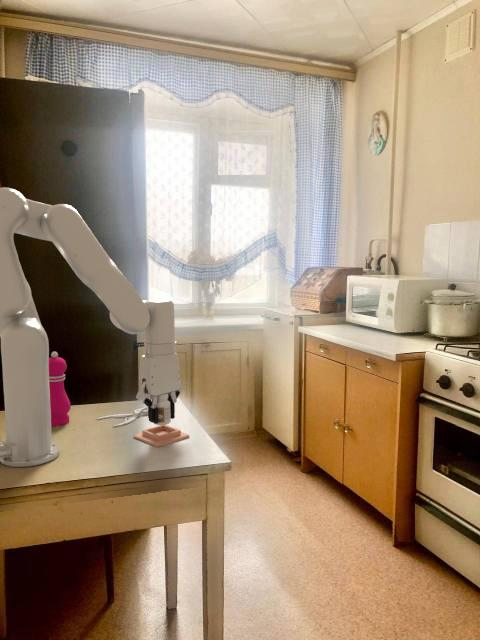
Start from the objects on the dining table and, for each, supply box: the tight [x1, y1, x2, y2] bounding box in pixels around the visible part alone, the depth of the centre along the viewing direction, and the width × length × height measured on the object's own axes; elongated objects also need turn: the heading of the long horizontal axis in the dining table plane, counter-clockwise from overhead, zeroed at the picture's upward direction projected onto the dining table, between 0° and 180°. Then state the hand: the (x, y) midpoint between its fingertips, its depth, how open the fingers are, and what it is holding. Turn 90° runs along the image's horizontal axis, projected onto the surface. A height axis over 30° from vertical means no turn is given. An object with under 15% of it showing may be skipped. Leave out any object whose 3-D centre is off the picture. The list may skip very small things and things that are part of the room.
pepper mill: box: [49, 351, 71, 427], centre depth 142 cm, size 7×7×20 cm
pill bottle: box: [153, 393, 172, 426], centre depth 131 cm, size 4×4×8 cm
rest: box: [133, 424, 190, 448], centre depth 131 cm, size 10×10×2 cm
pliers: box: [95, 406, 148, 428], centre depth 148 cm, size 10×2×15 cm
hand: (161, 419), depth 131 cm, fingers closed on pill bottle, 4 cm apart
